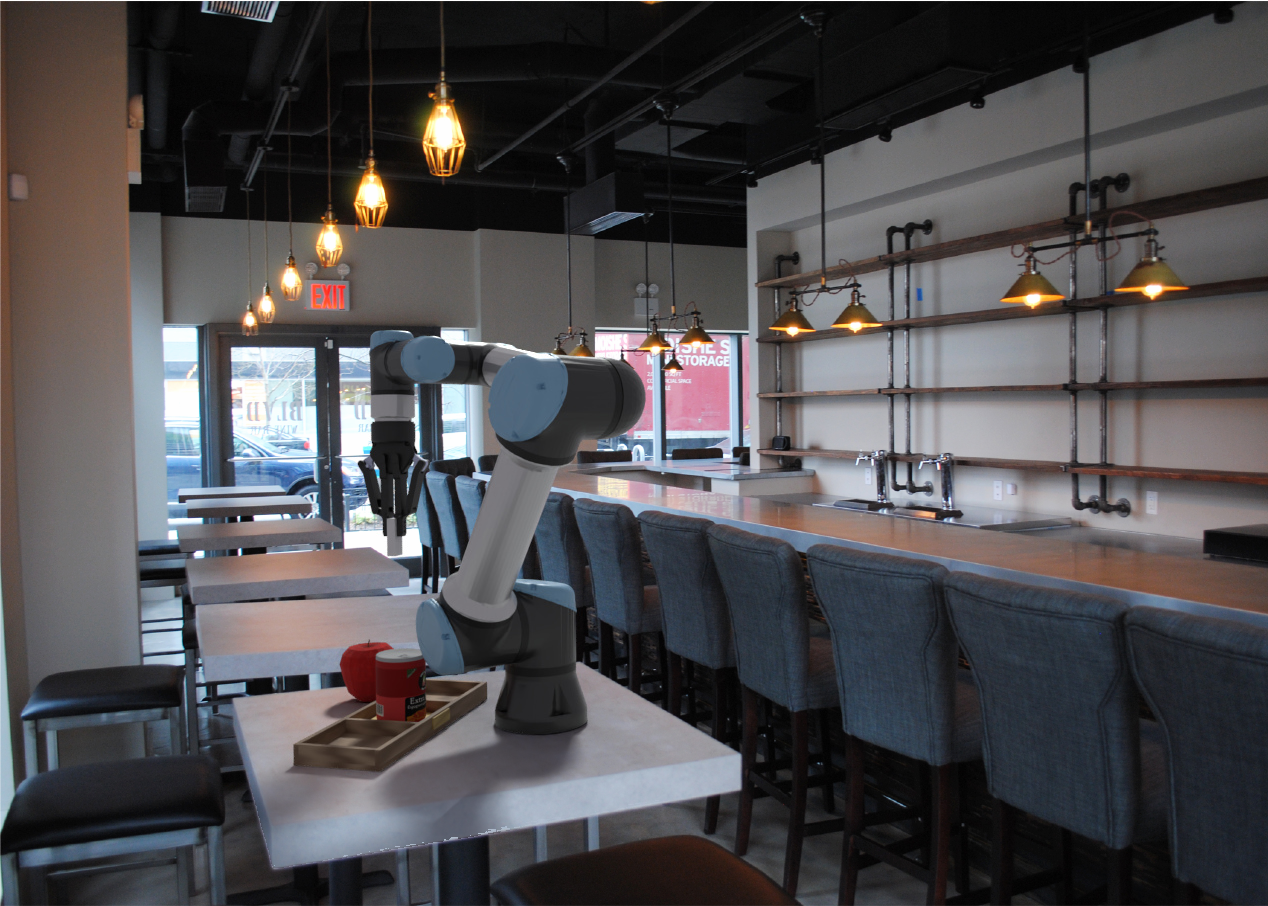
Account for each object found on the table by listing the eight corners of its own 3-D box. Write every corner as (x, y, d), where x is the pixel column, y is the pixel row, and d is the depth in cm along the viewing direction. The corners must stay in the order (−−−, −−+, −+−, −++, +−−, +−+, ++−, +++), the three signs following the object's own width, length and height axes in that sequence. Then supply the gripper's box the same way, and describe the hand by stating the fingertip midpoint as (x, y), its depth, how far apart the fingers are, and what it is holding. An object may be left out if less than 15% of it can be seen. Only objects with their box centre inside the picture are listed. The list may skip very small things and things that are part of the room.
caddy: (488, 698, 172) (488, 681, 172) (382, 771, 134) (381, 750, 134) (417, 694, 175) (417, 678, 175) (293, 765, 137) (293, 744, 137)
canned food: (414, 729, 150) (413, 659, 150) (367, 726, 151) (366, 657, 151) (434, 715, 157) (433, 648, 157) (389, 713, 159) (388, 647, 159)
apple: (388, 689, 179) (388, 631, 179) (404, 701, 171) (403, 640, 171) (334, 697, 174) (334, 637, 174) (348, 709, 166) (347, 646, 166)
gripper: (436, 420, 169) (438, 553, 170) (370, 421, 172) (371, 552, 173) (417, 419, 162) (419, 558, 162) (348, 420, 165) (350, 557, 165)
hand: (394, 555), depth 167 cm, fingers closed
